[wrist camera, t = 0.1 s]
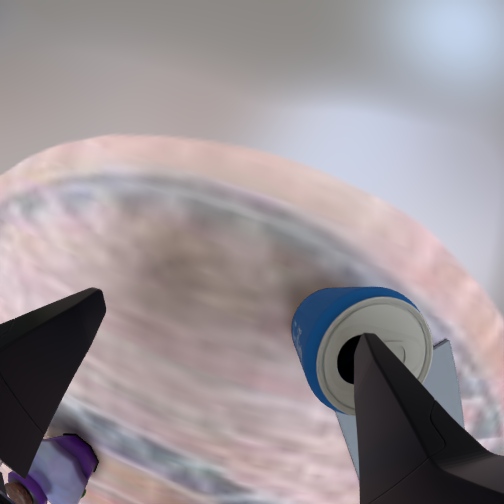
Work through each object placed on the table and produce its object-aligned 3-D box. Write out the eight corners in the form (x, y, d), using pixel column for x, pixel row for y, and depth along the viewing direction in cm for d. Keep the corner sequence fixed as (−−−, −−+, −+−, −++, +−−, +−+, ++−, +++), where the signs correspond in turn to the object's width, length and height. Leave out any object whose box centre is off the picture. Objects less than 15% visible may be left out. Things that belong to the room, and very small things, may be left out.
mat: (462, 433, 21) (465, 436, 20) (362, 488, 21) (363, 491, 20) (446, 339, 22) (449, 340, 22) (330, 398, 23) (331, 401, 22)
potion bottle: (85, 488, 23) (32, 535, 11) (41, 433, 24) (-24, 466, 12) (124, 471, 23) (68, 532, 11) (73, 409, 24) (-3, 447, 12)
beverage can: (291, 287, 24) (308, 287, 12) (368, 287, 24) (443, 284, 12) (289, 365, 23) (302, 430, 11) (365, 363, 23) (431, 415, 11)
